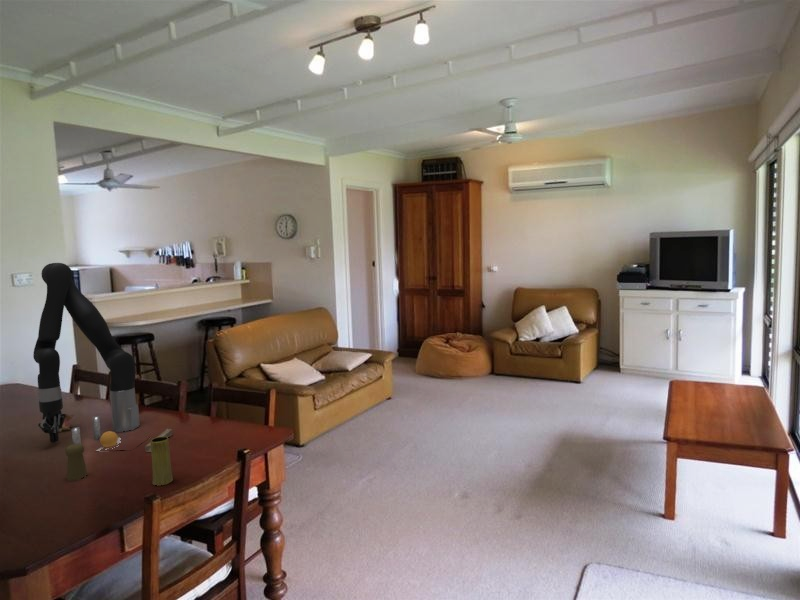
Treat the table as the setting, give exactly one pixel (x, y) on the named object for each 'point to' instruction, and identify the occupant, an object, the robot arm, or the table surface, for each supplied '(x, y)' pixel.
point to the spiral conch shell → (66, 423)
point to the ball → (108, 439)
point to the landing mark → (112, 446)
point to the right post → (96, 427)
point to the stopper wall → (165, 433)
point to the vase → (161, 461)
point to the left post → (76, 435)
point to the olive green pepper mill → (75, 462)
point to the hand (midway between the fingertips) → (54, 441)
